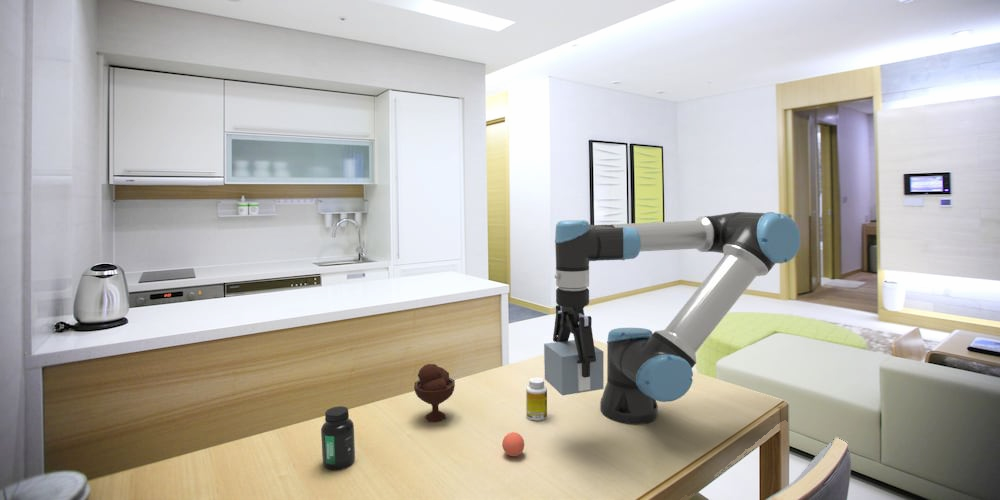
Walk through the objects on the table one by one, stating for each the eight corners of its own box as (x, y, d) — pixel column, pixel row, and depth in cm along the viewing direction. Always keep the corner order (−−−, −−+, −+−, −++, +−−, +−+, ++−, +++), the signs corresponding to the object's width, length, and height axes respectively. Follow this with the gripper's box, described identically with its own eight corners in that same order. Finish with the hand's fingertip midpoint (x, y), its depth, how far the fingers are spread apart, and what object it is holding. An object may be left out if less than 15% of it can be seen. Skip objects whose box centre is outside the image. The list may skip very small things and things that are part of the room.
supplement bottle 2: (548, 421, 122) (548, 383, 121) (527, 421, 122) (527, 384, 121) (545, 411, 128) (545, 375, 127) (525, 412, 128) (525, 376, 127)
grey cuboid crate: (582, 373, 115) (582, 339, 114) (603, 389, 106) (603, 351, 105) (544, 379, 112) (544, 343, 112) (562, 395, 103) (561, 356, 102)
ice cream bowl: (449, 428, 119) (448, 371, 117) (408, 425, 121) (406, 369, 119) (461, 410, 129) (460, 358, 128) (422, 407, 131) (421, 355, 130)
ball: (520, 447, 109) (520, 427, 109) (527, 458, 105) (527, 437, 104) (499, 450, 108) (499, 430, 107) (506, 462, 103) (506, 440, 103)
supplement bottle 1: (332, 475, 99) (329, 421, 98) (317, 463, 104) (314, 411, 102) (361, 461, 104) (358, 410, 103) (345, 450, 109) (343, 401, 107)
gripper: (538, 281, 116) (540, 366, 119) (580, 298, 95) (580, 403, 97) (566, 279, 119) (567, 363, 121) (612, 295, 97) (612, 397, 99)
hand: (573, 380), depth 109 cm, fingers closed on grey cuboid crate, 10 cm apart
